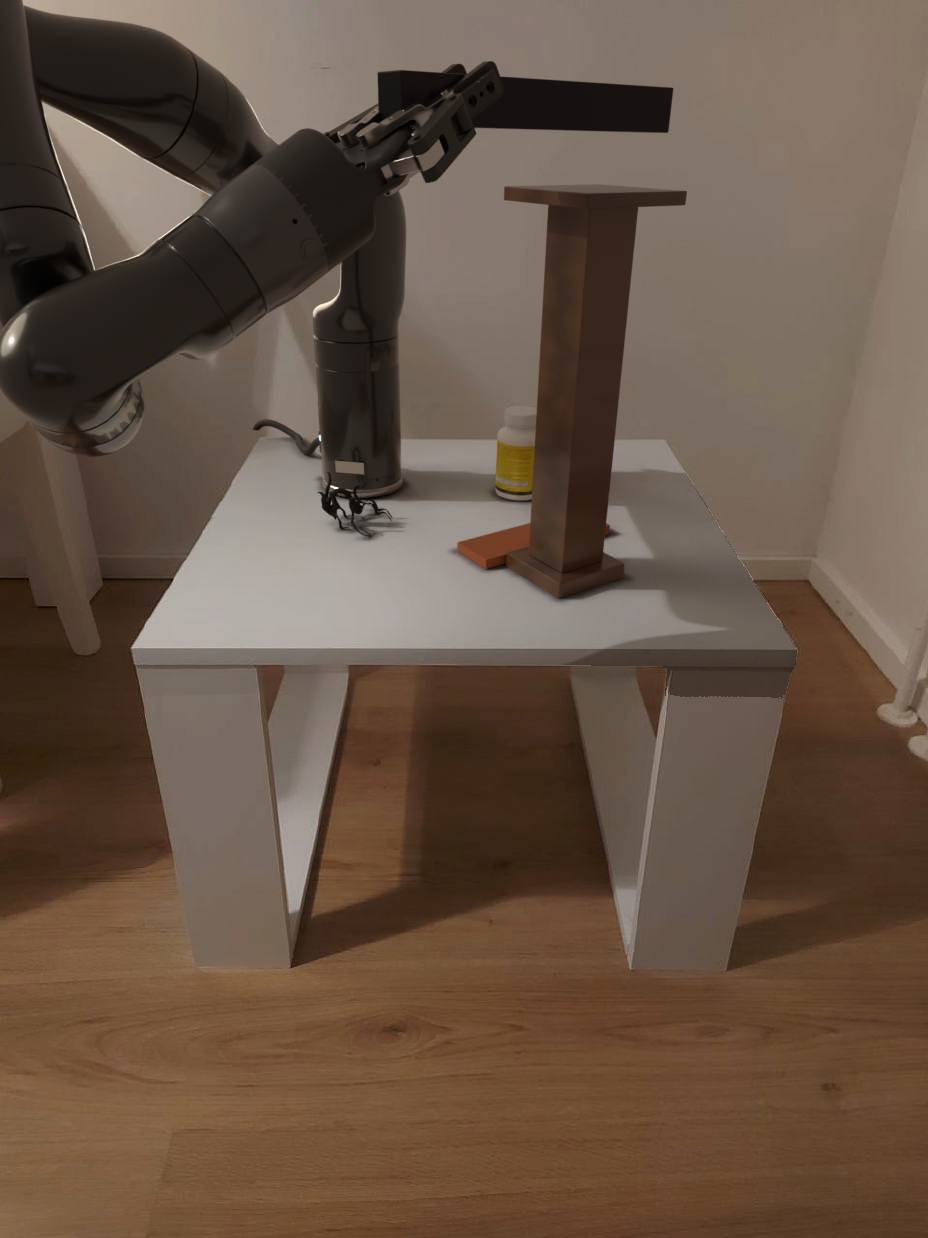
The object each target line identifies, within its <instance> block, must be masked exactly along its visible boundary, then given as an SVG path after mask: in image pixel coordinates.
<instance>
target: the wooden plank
mask: <svg viewBox="0 0 928 1238" xmlns="http://www.w3.org/2000/svg"><path fill="white" fill-rule="evenodd" d="M610 528H611V525H610V524H609V523H608V522H606V530H605V536H606V535H609V534H610V530H611V529H610ZM529 540H530V522H528V523H525V524H521V525H517V526H514V527H513V526H512V527H509V528H505V529H502V530H498V531H493V532H490V533H487V534H482V535H480V536H475V537H471V538H468V539H464V540H459V541H457V548H456V550H457V552H458V553H460V554H461V555H463V556H464V557H466V558H467V559H469V560H470V561H472V562H474V563H476V564H477V565H478V566H480V567H482V568H483V569H485V570H488V569H492V568H495V567H499V566H502V565H506V557H507V552H511V551H514V550H518V549H521V548H525V547H528V546H529Z"/></svg>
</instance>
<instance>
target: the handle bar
mask: <svg viewBox="0 0 928 1238" xmlns="http://www.w3.org/2000/svg"><path fill="white" fill-rule="evenodd" d="M465 75H466V74H456V73H441V72H439V71H423V70H408V69H407V70H406V69H396V70H395V69H394V70H385V71H384V70H383V71H378V72H377V104H378V111H380V117H381V121H380V122H382V121H383V120H385V119H386V118H388V117H389V116H391V115H392V114H394V113H395V112H397V111H401V110H403V109H404V108H405V107H407V106H408V105H409V104H411V103H416V104H420V105H424V104H425V103H426V102H428V101H429V100H430V99H432V98H433V97H435V96H436V95H438V94H439V93H440V92H441V91H442V90H444V89H448V88H449V87H450V86H452V85H453V84H454V83H456V82H457V81H458V80H460V79H461V78H462V77H464V76H465ZM500 77H501V80H502V83H503V86H504V93H503V95H502V97H500V98H499V99H498V100H496V101H495V102H494V103H493V104H491V105H490V106H489V107H487V108H486V109H485V110H483V111H482V112H481V113H479V114H478V115H477V116H476V117H474V118H473V119H472V123H473V126H474V128H475V129H488V130H490V129H493V130H495V129H496V130H525V131H526V130H527V131H528V130H529V131H530V130H533V131H567V132H602V133H603V132H605V133H639V134H668V133H669V131H670V122H671V114H672V105H673V95H674V87H672V86H671V87H670V86H669V87H668V86H656V85H655V86H654V85H639V84H623V83H610V82H609V83H607V82H593V81H577V80H562V79H546V78H530V77H514V76H501V75H500ZM431 116H432V115H431ZM431 116H430V117H431ZM380 122H379V123H380ZM408 123H409V125H410V126H414V123H413V121H412V120H409V121H408Z"/></svg>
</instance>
